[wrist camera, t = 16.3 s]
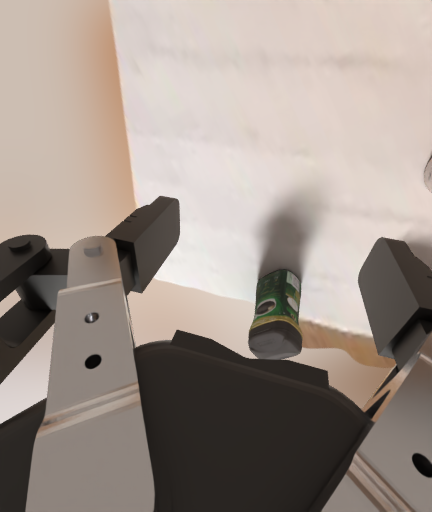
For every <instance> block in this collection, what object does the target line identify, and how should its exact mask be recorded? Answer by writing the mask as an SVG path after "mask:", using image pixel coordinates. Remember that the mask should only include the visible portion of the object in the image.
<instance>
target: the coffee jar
mask: <svg viewBox="0 0 432 512" xmlns="http://www.w3.org/2000/svg"><path fill="white" fill-rule="evenodd" d="M300 298H301V283H300V282H299V280H298V278H297V277H296V276H295V275H294V274H293V273H291V272H290V271H287V270H278V271H275V272H273V273H270V274H268V275H267V276H265V277H263V278H262V279H260V280H259V281H258V283H257V289H256V306H255V316H254V320H253V323H252V325H251V328H250V330H249V341H248V344H249V348H250V351H251V352H252V353H253V354H254V355H255V356H256V357H257V358H258V359H273V360H281V359H285V358H289V357H293V356H296V355H298V354H300V352H301V349H302V338H303V337H302V332H301V329H300V327H299V324H298V317H299V305H300Z"/></svg>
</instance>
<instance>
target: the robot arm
mask: <svg viewBox="0 0 432 512" xmlns="http://www.w3.org/2000/svg"><path fill="white" fill-rule="evenodd" d="M424 182H425V185H426V187H427V188H428V189H429V191H430V192H431V193H432V158H431V160H430V161H429V162H428V164H427V167H426V169H425V173H424ZM179 235H180V210H179V201H178V199H175V198H170V197H164V196H159V197H158V198H157V199H156V200H155V201H154V202H153V203H152V204H150V205H145V206H143V207H141V208H138V209H136V210H135V211H134V212H133V213H132V214H131V215H130V216H128V217H127V218H126V219H125V220H124V221H122V222H121V223H120V224H119V225H118V226H117V227H115V228H114V229H113V230H112V231H111V232H110V233H108V234H107V235H106V236H92V237H87V238H84V239H81V240H79V241H77V242H76V243H74V244H73V245H72V246H71V248H70V249H49V247H48V244H47V242H46V240H45V238H43V237H41V236H38V235H22V236H18V237H14V238H12V239H8V240H6V241H4V242H2V243H1V244H0V302H1V301H2V300H3V299H4V298H6V297H7V296H8V295H9V294H10V293H11V292H13V291H14V290H15V289H16V291H17V293H18V294H19V296H20V298H21V300H20V301H19V302H18V303H17V304H15V305H14V306H13V307H12V308H11V309H10V310H9V311H8V312H6V313H5V314H4V315H3V316H2V317H1V318H0V384H1V383H2V382H3V381H4V379H5V378H6V377H7V376H8V375H9V374H10V372H12V370H13V369H14V368H15V367H16V366H17V365H18V364H19V362H20V361H21V360H22V359H23V358H24V357H25V356H26V354H27V353H28V352H29V351H30V350H31V349H32V347H34V345H35V344H36V343H37V342H38V341H39V340H40V339H41V337H42V336H43V335H44V334H45V333H46V332H47V331H48V329H49V328H50V327H51V326H52V325H53V324H54V323H55V325H54V335H53V345H52V355H51V365H50V374H49V384H48V394H47V398H45V399H43V400H41V401H40V402H38V403H36V404H34V405H33V406H31V407H29V408H28V409H26V410H24V411H22V412H21V413H19V414H17V415H15V416H13V417H12V418H10V419H9V420H6V421H5V422H3V423H2V424H0V512H432V271H431V270H430V268H429V267H428V266H427V265H425V264H424V263H423V262H422V261H421V260H419V259H418V258H417V257H414V255H413V253H412V252H411V250H410V249H409V247H408V245H407V244H406V242H404V241H399V240H394V239H389V238H383V237H381V238H379V239H378V240H377V241H376V243H375V245H374V246H373V248H372V250H371V252H370V253H369V255H368V257H367V259H366V261H365V262H364V264H363V266H362V268H361V270H360V273H359V277H358V284H359V288H360V291H361V295H362V298H363V302H364V305H365V309H366V312H367V316H368V320H369V323H370V327H371V330H372V334H373V337H374V341H375V344H376V348H377V352H378V355H380V356H384V357H388V358H392V359H395V361H396V365H395V366H394V367H393V368H392V369H391V370H390V372H389V373H388V374H387V376H386V377H385V378H384V380H383V381H382V382H381V384H380V385H379V386H378V388H377V389H376V390H375V392H374V393H373V394H372V396H371V397H370V399H369V400H368V401H367V403H366V404H365V405H364V406H363V408H362V409H360V408H359V407H358V406H357V405H356V404H355V403H354V402H353V401H352V400H350V399H349V398H348V397H346V396H345V395H344V394H343V393H341V392H339V391H338V390H337V389H335V388H334V387H332V386H330V385H329V381H328V372H327V371H326V370H322V369H319V368H315V367H311V366H308V365H304V364H300V363H296V362H293V361H289V360H273V359H249V358H245V357H243V356H241V355H239V354H238V353H235V352H234V351H232V350H230V349H228V348H227V347H225V346H223V345H221V344H219V343H218V342H216V341H214V340H212V339H209V338H205V337H202V336H198V335H195V334H191V333H187V332H184V331H180V330H176V333H175V335H174V337H173V339H172V340H164V341H155V342H150V343H147V344H144V345H140V346H138V347H136V343H135V338H134V333H133V327H132V321H131V316H130V310H129V305H128V300H127V295H128V294H129V293H130V291H134V292H138V293H143V291H144V290H145V288H146V287H147V285H148V284H149V283H150V281H151V280H152V278H153V277H154V275H155V274H156V273H157V271H158V270H159V268H160V267H161V265H162V264H163V263H164V261H165V260H166V258H167V257H168V255H169V254H170V253H171V251H172V250H173V248H174V247H175V245H176V244H177V242H178V239H179Z"/></svg>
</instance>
